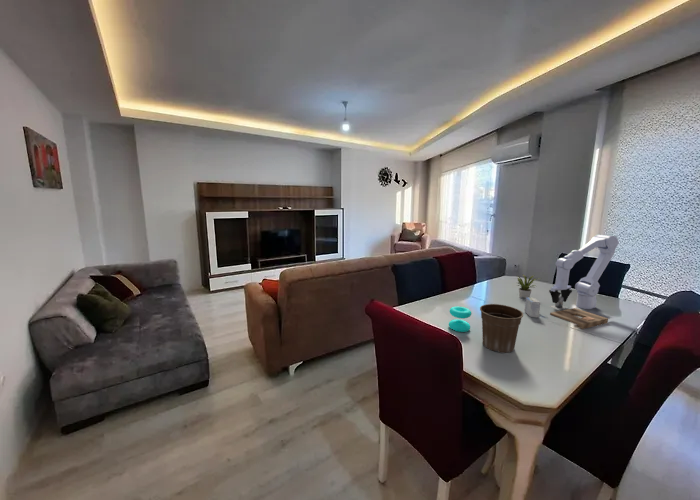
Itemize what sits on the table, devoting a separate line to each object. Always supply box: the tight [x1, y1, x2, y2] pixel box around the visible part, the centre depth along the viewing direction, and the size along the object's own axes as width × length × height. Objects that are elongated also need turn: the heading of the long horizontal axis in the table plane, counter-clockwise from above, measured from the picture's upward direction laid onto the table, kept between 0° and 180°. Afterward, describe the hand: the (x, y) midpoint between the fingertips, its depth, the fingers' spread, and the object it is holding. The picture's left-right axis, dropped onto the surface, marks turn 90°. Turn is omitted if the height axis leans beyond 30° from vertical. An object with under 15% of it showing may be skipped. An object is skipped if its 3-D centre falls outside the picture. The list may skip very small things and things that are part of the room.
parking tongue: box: [549, 304, 569, 311], centre depth 166 cm, size 8×6×2 cm
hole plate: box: [549, 307, 609, 330], centre depth 151 cm, size 20×16×3 cm
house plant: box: [516, 274, 541, 299], centre depth 183 cm, size 14×14×16 cm
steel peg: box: [554, 296, 564, 308], centre depth 166 cm, size 4×4×6 cm
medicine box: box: [524, 297, 541, 318], centre depth 158 cm, size 8×4×9 cm, turn 168°
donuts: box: [448, 305, 472, 333], centre depth 140 cm, size 10×10×10 cm
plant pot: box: [479, 303, 524, 354], centre depth 122 cm, size 16×16×16 cm
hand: (559, 302), depth 166 cm, fingers open, 7 cm apart
